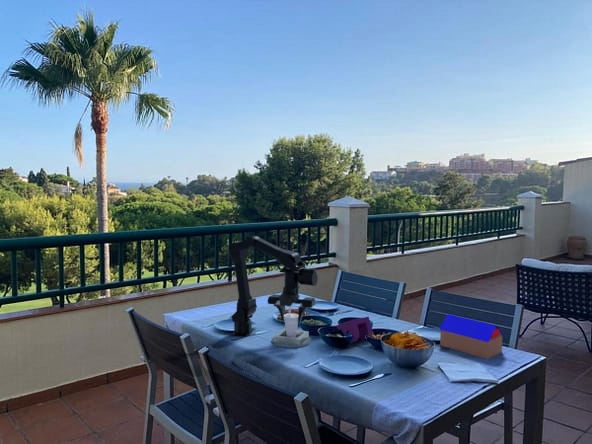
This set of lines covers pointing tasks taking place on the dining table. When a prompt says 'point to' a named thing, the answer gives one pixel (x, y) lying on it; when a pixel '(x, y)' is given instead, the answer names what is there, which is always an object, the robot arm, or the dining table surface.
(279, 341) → the disk with square socket
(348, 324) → the mounting bracket
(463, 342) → the house
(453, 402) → the dining table surface
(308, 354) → the dining table surface
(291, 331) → the smoothie
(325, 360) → the dining table surface
